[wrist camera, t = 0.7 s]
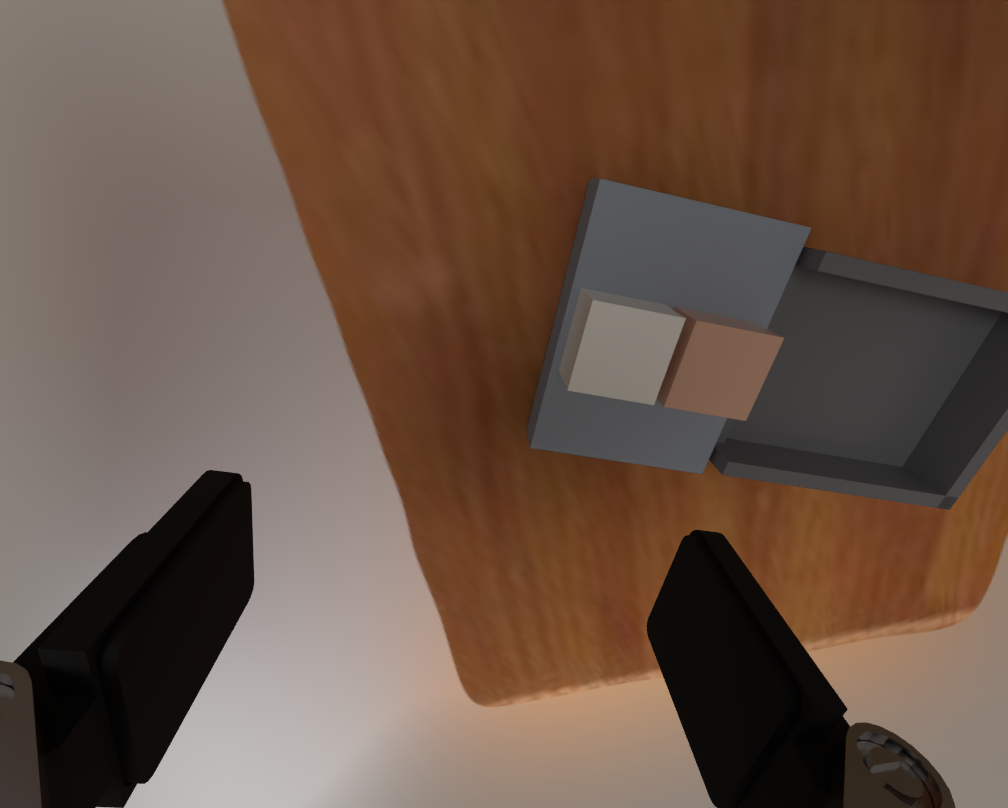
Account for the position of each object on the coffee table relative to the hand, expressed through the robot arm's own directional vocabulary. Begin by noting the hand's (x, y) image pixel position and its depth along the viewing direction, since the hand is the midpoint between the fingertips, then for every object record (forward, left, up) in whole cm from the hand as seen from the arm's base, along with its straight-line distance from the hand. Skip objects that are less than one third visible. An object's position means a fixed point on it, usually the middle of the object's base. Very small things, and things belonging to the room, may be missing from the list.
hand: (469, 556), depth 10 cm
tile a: (-1, +8, -18) cm, 20 cm away
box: (-1, +26, -21) cm, 33 cm away
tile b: (-1, +14, -18) cm, 23 cm away
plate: (-1, +11, -21) cm, 24 cm away
